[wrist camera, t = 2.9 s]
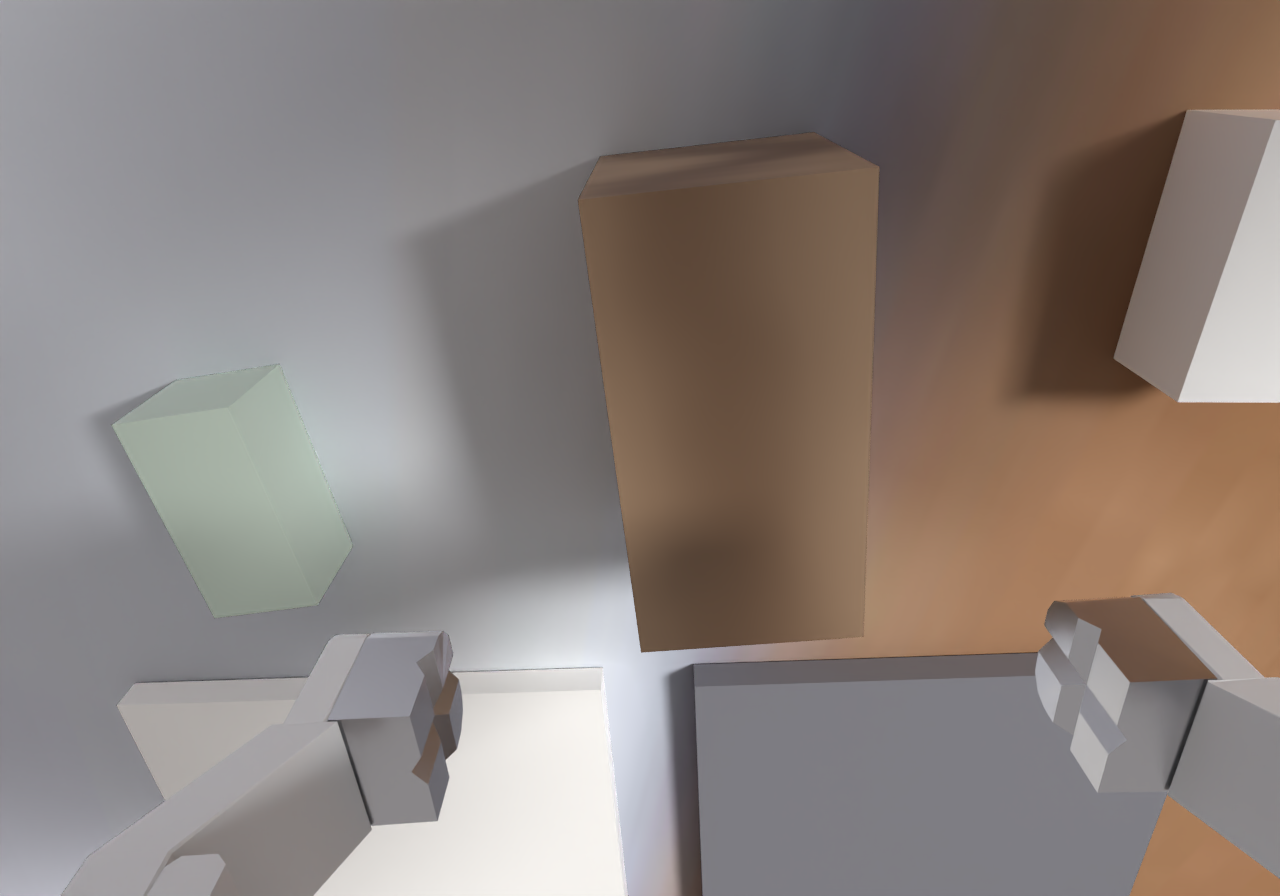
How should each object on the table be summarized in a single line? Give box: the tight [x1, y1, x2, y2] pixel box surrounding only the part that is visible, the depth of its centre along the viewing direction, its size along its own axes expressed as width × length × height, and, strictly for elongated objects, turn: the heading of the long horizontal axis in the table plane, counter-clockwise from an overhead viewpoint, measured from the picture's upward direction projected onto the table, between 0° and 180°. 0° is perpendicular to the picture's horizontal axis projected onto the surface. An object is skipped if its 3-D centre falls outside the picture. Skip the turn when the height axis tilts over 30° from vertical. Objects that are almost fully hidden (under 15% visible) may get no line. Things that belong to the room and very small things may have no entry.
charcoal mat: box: [693, 653, 1168, 896], centre depth 28 cm, size 16×16×1 cm
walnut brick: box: [578, 132, 879, 652], centre depth 18 cm, size 5×10×6 cm, turn 6°
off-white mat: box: [116, 667, 628, 896], centre depth 29 cm, size 16×16×1 cm
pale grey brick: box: [1113, 109, 1280, 402], centre depth 18 cm, size 6×3×3 cm, turn 0°
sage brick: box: [111, 364, 353, 618], centre depth 21 cm, size 6×3×3 cm, turn 9°
